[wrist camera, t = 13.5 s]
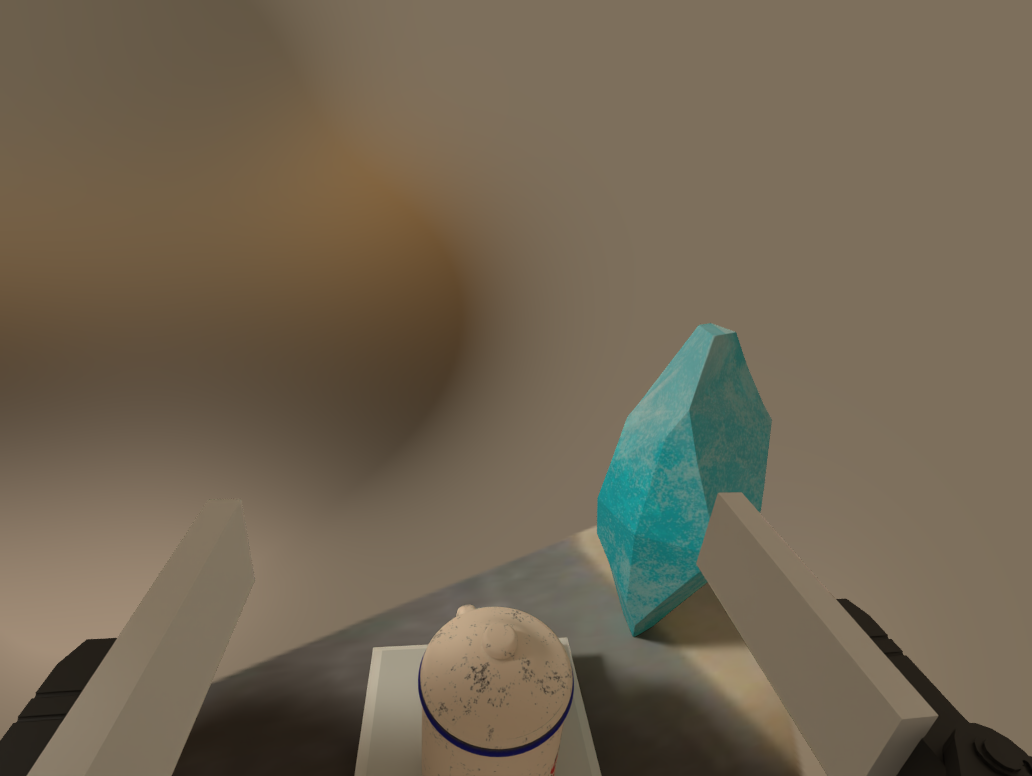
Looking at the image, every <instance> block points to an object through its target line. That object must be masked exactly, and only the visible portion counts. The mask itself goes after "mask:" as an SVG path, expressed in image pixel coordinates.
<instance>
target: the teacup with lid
mask: <svg viewBox="0 0 1032 776" xmlns="http://www.w3.org/2000/svg"><path fill="white" fill-rule="evenodd" d="M418 691H419V697H420V701H421V704H422V776H554V775H555V770H556V764H557V759H558V753H559V747H560V742H561V736H562V731H563V725H564V720H565V718H566V717H567V714H568V712H569V710H570V707H571V704H572V699H573V693H574V677H573V671H572V666H571V663H570V660H569V657H568V654H567V652H566V650H565V648H564V646H563V644H562V643H561V641H560V640H559V638H558V637H557V636H556V635H555V634H554V632H553V631H552V630H551V629H550V628H549V627H548V626H546V625H545V624H544V623H543V622H541V621H540V620H539V619H537V618H535V617H533V616H531V615H529V614H527V613H525V612H522V611H519V610H516V609H511V608H506V607H484V608H478V609H476V608H475V607H474V606H473V605H465V606H461V607H460V608H459V609H458V611H457V615H456V617H455V618H454V619H452V620H451V621H449V622H448V623H447V624H446V625H444V626H443V627H442V628H441V629H440V630H439V631H438V632H437V633H436V635H435V636H434V637H433V639H432V640H431V642H430V643H429V645H428V647H427V649H426V651H425V653H424V655H423V657H422V660H421V663H420V668H419V673H418Z"/></svg>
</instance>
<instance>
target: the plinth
mask: <svg viewBox="0 0 1032 776" xmlns="http://www.w3.org/2000/svg"><path fill="white" fill-rule="evenodd" d="M559 640H560V641H561V643H562V644H563V646H564V648H565V650H566V652H567V654H568V657H569V660H570V663H571V666H572V671H573V677H574V693H573V699H572V704H571V707H570V710H569V712H568V714H567V717H566V718H565V720H564V725H563V731H562V736H561V742H560V747H559V753H558V759H557V764H556V770H555V775H554V776H601V772H600V768H599V764H598V760H597V756H596V752H595V748H594V744H593V740H592V736H591V732H590V728H589V724H588V720H587V716H586V712H585V708H584V704H583V700H582V695H581V691H580V687H579V683H578V679H577V675H576V671H575V667H574V663H573V659H572V655H571V651H570V647H569V643H568V639H567V638H559ZM427 647H428V645H413V646H394V647H374V648H373V653H372V660H371V667H370V674H369V680H368V687H367V694H366V701H365V707H364V714H363V721H362V728H361V734H360V741H359V748H358V755H357V761H356V768H355V775H354V776H422V704H421V701H420V697H419V691H418V673H419V668H420V663H421V660H422V657H423V655H424V653H425V651H426V649H427Z"/></svg>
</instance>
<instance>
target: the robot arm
mask: <svg viewBox="0 0 1032 776" xmlns="http://www.w3.org/2000/svg"><path fill="white" fill-rule="evenodd" d="M696 564H697V566H698V568H699V569H700V571H701V572H702V574H703V576H704V577H705V579H706V580H707V582H708V584H709V585H710V587H711V589H712V590H713V592H714V593H715V595H716V597H717V598H718V600H719V601H720V603H721V605H722V606H723V608H724V609H725V611H726V613H727V614H728V616H729V618H730V619H731V621H732V622H733V624H734V626H735V627H736V629H737V630H738V632H739V634H740V635H741V637H742V638H743V640H744V642H745V643H746V645H747V647H748V648H749V650H750V651H751V653H752V655H753V656H754V658H755V659H756V661H757V663H758V664H759V666H760V667H761V669H762V671H763V672H764V674H765V676H766V677H767V679H768V680H769V682H770V684H771V685H772V687H773V688H774V690H775V692H776V693H777V695H778V697H779V698H780V700H781V701H782V703H783V705H784V706H785V708H786V709H787V711H788V713H789V714H790V716H791V717H792V719H793V721H794V722H795V724H796V726H797V727H798V729H799V730H800V732H801V734H802V735H803V737H804V738H805V740H806V742H807V743H808V745H809V746H810V748H811V750H812V751H813V753H814V755H815V756H816V758H817V759H818V761H819V763H820V764H821V766H822V767H823V769H824V771H825V772H826V774H827V775H828V776H1032V757H1031V756H1028V755H1027V754H1026V753H1025V752H1024V751H1023V750H1022V749H1021V748H1019V747H1018V746H1017V745H1016V744H1014V743H1013V742H1012V741H1011V740H1009V739H1008V738H1006V737H1005V736H1003V735H1001V734H999V733H998V732H996V731H994V730H993V729H990V728H988V727H985V726H982V725H979V724H976V723H969V722H968V721H967V720H966V719H965V718H964V717H963V716H962V715H961V714H960V713H959V712H958V711H957V710H956V709H955V708H954V707H953V706H952V704H951V703H950V702H949V701H948V700H947V699H946V698H945V697H944V696H943V695H942V694H941V692H940V691H939V690H938V689H937V688H936V687H935V686H934V685H933V684H932V683H931V682H930V681H929V679H928V678H927V677H926V676H925V675H924V674H923V673H922V672H921V671H920V670H919V669H918V668H917V666H916V665H915V664H914V663H913V662H912V661H911V660H910V659H909V658H908V657H907V656H904V655H903V653H902V652H903V651H902V650H901V649H900V648H899V647H898V646H897V645H896V644H895V643H894V642H893V640H892V639H888V637H887V636H888V635H887V634H886V633H885V632H884V631H883V630H882V629H881V628H880V626H879V625H878V624H877V623H876V622H875V621H874V620H873V619H872V618H871V617H870V616H869V615H868V614H867V613H865V612H864V611H863V610H861V609H860V608H858V607H857V606H856V605H854V604H853V603H851V602H850V601H849V600H847V599H835V598H834V596H833V595H832V594H831V593H830V592H829V591H828V590H827V589H826V587H825V586H824V585H823V584H822V583H821V582H820V581H819V579H818V578H817V577H816V576H815V575H814V574H813V573H812V572H811V570H810V569H809V568H808V567H807V566H806V565H805V564H804V563H803V561H802V560H801V559H800V558H799V557H798V556H797V555H796V553H795V552H794V551H793V550H792V549H791V548H790V547H789V545H788V544H787V543H786V542H785V541H784V540H783V539H782V538H781V536H780V535H779V534H778V533H777V532H776V531H775V530H774V529H773V527H772V526H771V525H770V524H769V523H768V522H767V521H766V519H765V518H764V517H763V516H762V515H761V514H760V513H759V511H758V510H757V509H756V508H755V507H754V506H753V505H752V504H751V502H750V501H749V500H748V499H747V498H746V497H745V496H744V494H743V493H742V492H731V493H718V494H717V497H716V501H715V504H714V507H713V510H712V514H711V517H710V520H709V523H708V527H707V530H706V533H705V537H704V540H703V543H702V546H701V550H700V553H699V556H698V559H697V563H696ZM254 582H255V577H254V571H253V565H252V560H251V554H250V548H249V542H248V536H247V530H246V524H245V519H244V512H243V506H242V501H241V499H209V500H208V501H207V503H206V504H205V506H204V507H203V509H202V510H201V512H200V513H199V515H198V516H197V518H196V520H195V521H194V522H193V524H192V525H191V527H190V528H189V530H188V532H187V533H186V535H185V536H184V538H183V539H182V541H181V542H180V544H179V545H178V547H177V548H176V550H175V551H174V553H173V554H172V556H171V557H170V559H169V560H168V562H167V563H166V565H165V566H164V568H163V570H162V571H161V573H160V574H159V576H158V577H157V579H156V580H155V582H154V583H153V585H152V586H151V588H150V589H149V591H148V592H147V594H146V595H145V597H144V598H143V600H142V601H141V603H140V604H139V606H138V607H137V609H136V611H135V612H134V613H133V615H132V617H131V618H130V620H129V621H128V623H127V624H126V626H125V627H124V629H123V630H122V632H121V633H120V635H119V636H118V638H108V639H88V640H86V641H85V642H83V643H82V644H81V645H80V646H78V647H77V648H76V649H75V650H74V651H72V652H71V653H70V654H69V655H68V656H66V657H65V658H64V659H63V660H62V661H60V662H59V663H58V664H57V665H56V667H55V668H54V669H53V670H52V672H51V673H50V674H49V676H48V677H47V679H46V680H45V681H44V683H43V684H42V685H41V687H40V688H39V690H38V691H37V692H36V696H35V698H34V699H31V700H30V702H29V703H28V704H27V706H26V707H25V708H24V710H23V711H22V712H21V714H20V715H19V716H18V721H17V722H16V723H13V724H12V726H11V727H10V728H9V730H8V731H7V733H6V734H5V735H4V736H3V738H2V739H1V741H0V776H172V774H173V771H174V769H175V767H176V764H177V762H178V760H179V757H180V755H181V753H182V750H183V748H184V746H185V743H186V741H187V738H188V736H189V734H190V731H191V729H192V727H193V724H194V722H195V720H196V717H197V715H198V713H199V710H200V708H201V706H202V703H203V701H204V699H205V696H206V694H207V692H208V689H209V687H210V685H211V682H212V680H213V678H214V675H215V673H216V671H217V668H218V666H219V663H220V661H221V659H222V656H223V654H224V652H225V649H226V647H227V645H228V642H229V639H230V638H231V635H232V633H233V631H234V628H235V626H236V624H237V621H238V619H239V617H240V614H241V612H242V610H243V607H244V605H245V603H246V600H247V598H248V595H249V593H250V591H251V589H252V586H253V584H254Z"/></svg>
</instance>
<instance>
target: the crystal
mask: <svg viewBox="0 0 1032 776" xmlns="http://www.w3.org/2000/svg"><path fill="white" fill-rule="evenodd" d="M771 423H772V419H771V417H770V416H769V414H768V412H767V410H766V408H765V406H764V405H763V402H762V400H761V398H760V395H759V393H758V391H757V388H756V386H755V383H754V381H753V379H752V376H751V374H750V372H749V369H748V367H747V364H746V361H745V358H744V356H743V352H742V349H741V346H740V343H739V340H738V337H737V333H736V332H734V331H731V330H728V329H726V328H723V327H720V326H717V325H714V324H711V323H710V324H703V325H699V326H698V327H697V328H696V330H695V331H694V332H693V334H692V335H691V336H690V338H689V339H688V340H687V341H686V343H685V344H684V345H683V347H682V348H681V349H680V350H679V352H678V353H677V354H676V356H675V357H674V358H673V360H672V361H671V362H670V363H669V365H668V366H667V367H666V369H665V370H664V371H663V373H662V374H661V375H660V377H659V378H658V379H657V380H656V382H655V383H654V384H653V386H652V387H651V388H650V390H649V391H648V392H647V394H646V395H645V396H644V397H643V399H642V400H641V401H640V403H639V404H638V405H637V406H636V408H635V409H634V410H633V411H632V412H631V413H630V415H629V416H628V417H627V419H626V422H625V425H624V428H623V431H622V433H621V436H620V439H619V442H618V444H617V447H616V450H615V453H614V455H613V458H612V461H611V464H610V467H609V469H608V472H607V475H606V477H605V480H604V483H603V485H602V488H601V491H600V493H599V496H598V509H597V534H598V537H599V539H600V541H601V544H602V546H603V549H604V551H605V554H606V556H607V558H608V561H609V564H610V567H611V571H612V574H613V578H614V581H615V585H616V589H617V592H618V596H619V599H620V603H621V607H622V610H623V613H624V616H625V618H626V621H627V623H628V626H629V628H630V631H631V633H632V636H633V637H635V636H637V635H639V634H641V633H642V632H644V631H646V630H647V629H649V628H651V627H652V626H654V625H655V624H656V623H657V622H659V621H660V620H661V619H662V618H663V617H665V616H666V615H667V614H668V613H669V612H671V611H672V610H673V609H674V608H676V607H677V606H678V605H679V604H681V603H682V602H683V601H684V600H686V599H687V598H688V597H689V596H691V595H692V594H693V593H695V592H696V591H697V590H698V589H700V588H701V587H702V586H703V585H705V584H706V583H707V580H706V579H705V577H704V576H703V574H702V572H701V571H700V569H699V568H698V566H697V564H696V563H697V559H698V556H699V553H700V550H701V546H702V543H703V540H704V537H705V533H706V530H707V527H708V523H709V520H710V517H711V514H712V510H713V507H714V504H715V501H716V497H717V494H718V493H731V492H742V493H743V494H744V496H745V497H746V498H747V499H748V500H749V501H750V502H751V504H752V505H753V506H754V507H755V508H756V509H757V510H758V511H759V513H760V511H761V504H762V497H763V490H764V483H765V473H766V465H767V456H768V448H769V439H770V431H771Z"/></svg>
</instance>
